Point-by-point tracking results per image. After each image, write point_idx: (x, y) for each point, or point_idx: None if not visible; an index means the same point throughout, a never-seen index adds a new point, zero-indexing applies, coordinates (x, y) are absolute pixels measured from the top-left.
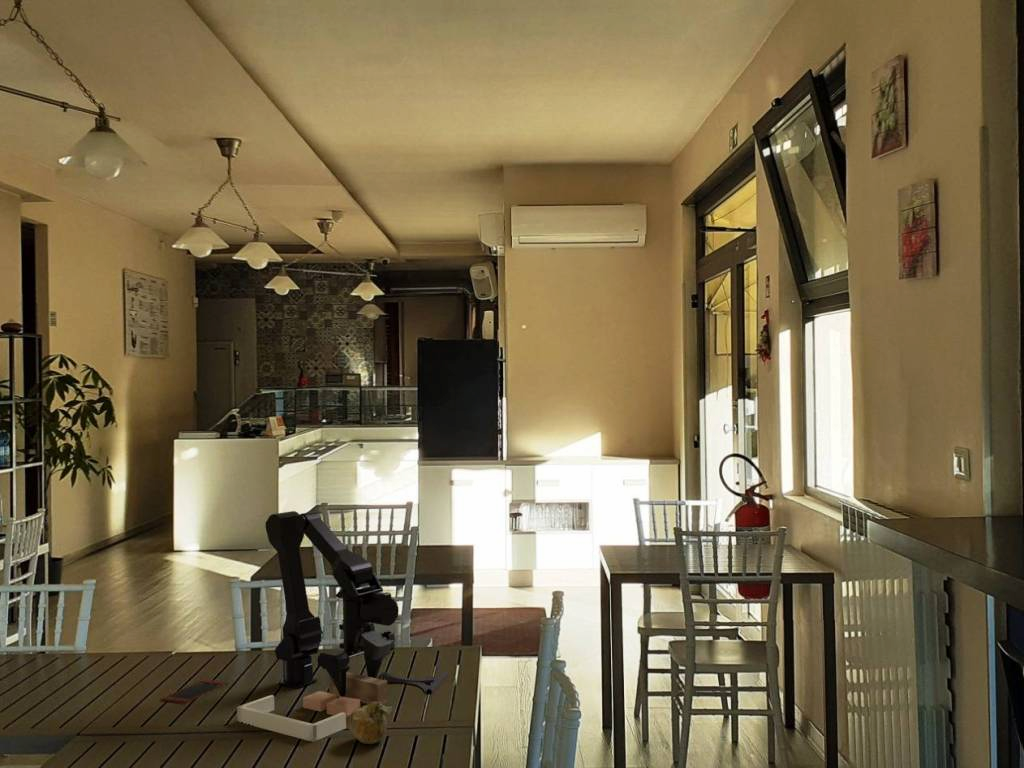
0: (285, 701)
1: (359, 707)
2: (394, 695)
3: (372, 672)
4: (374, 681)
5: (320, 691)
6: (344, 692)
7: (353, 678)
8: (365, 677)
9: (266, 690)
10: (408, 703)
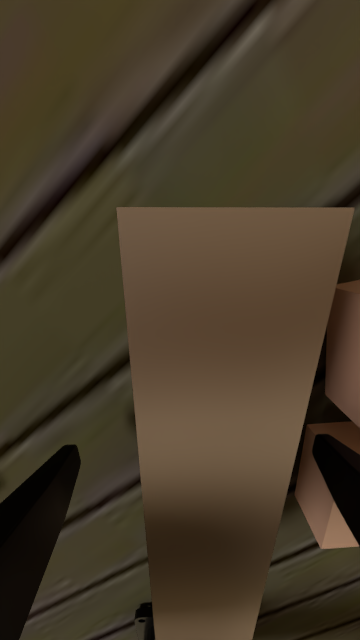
0: (341, 557)
1: (349, 287)
2: (31, 302)
3: (20, 555)
4: (249, 354)
5: (325, 543)
6: (349, 451)
7: (262, 554)
8: (180, 511)
9: (276, 629)
10: (67, 77)
